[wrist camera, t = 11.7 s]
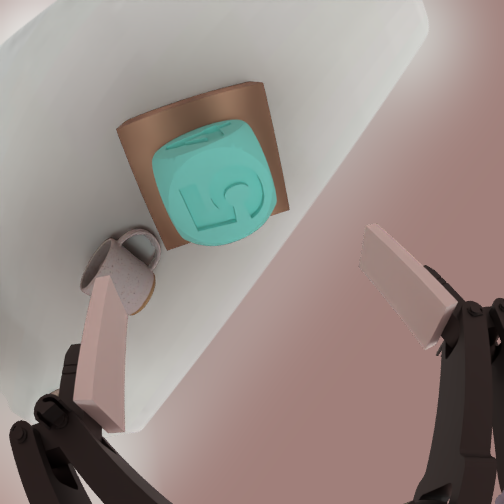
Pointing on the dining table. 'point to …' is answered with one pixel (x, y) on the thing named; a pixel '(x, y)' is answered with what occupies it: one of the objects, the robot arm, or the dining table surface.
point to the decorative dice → (215, 183)
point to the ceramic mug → (123, 271)
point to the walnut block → (190, 118)
